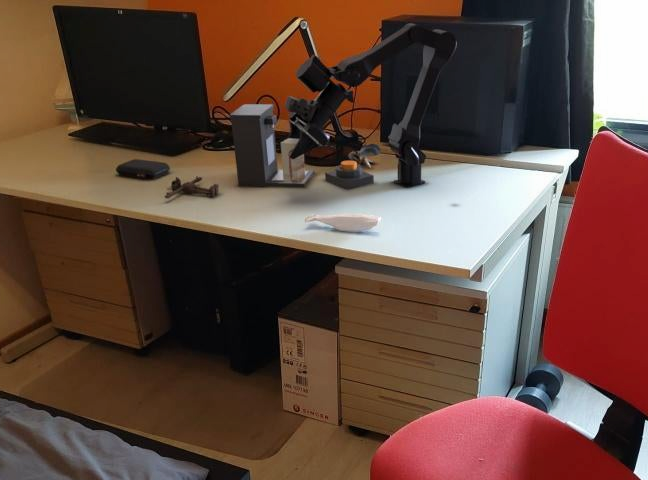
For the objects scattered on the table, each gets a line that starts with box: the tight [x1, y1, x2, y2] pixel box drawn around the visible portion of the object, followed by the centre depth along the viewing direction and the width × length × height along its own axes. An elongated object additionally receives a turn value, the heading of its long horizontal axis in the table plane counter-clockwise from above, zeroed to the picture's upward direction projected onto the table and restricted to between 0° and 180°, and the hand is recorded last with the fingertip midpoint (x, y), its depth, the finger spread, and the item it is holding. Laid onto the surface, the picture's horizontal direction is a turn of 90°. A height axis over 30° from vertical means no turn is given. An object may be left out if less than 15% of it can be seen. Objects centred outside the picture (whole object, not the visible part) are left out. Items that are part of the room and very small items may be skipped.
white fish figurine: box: [304, 212, 382, 233], centre depth 169 cm, size 6×18×4 cm, turn 71°
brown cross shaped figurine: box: [164, 175, 220, 199], centre depth 195 cm, size 18×4×14 cm
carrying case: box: [115, 158, 171, 180], centre depth 212 cm, size 11×3×15 cm
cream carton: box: [280, 137, 306, 183], centre depth 184 cm, size 5×4×10 cm
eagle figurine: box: [347, 143, 382, 169], centre depth 212 cm, size 8×7×9 cm
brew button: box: [340, 160, 357, 170], centre depth 199 cm, size 4×4×2 cm
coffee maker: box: [228, 103, 315, 189], centre depth 199 cm, size 19×14×19 cm
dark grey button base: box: [324, 164, 375, 190], centre depth 200 cm, size 11×9×4 cm
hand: (287, 155), depth 183 cm, fingers closed on cream carton, 6 cm apart
